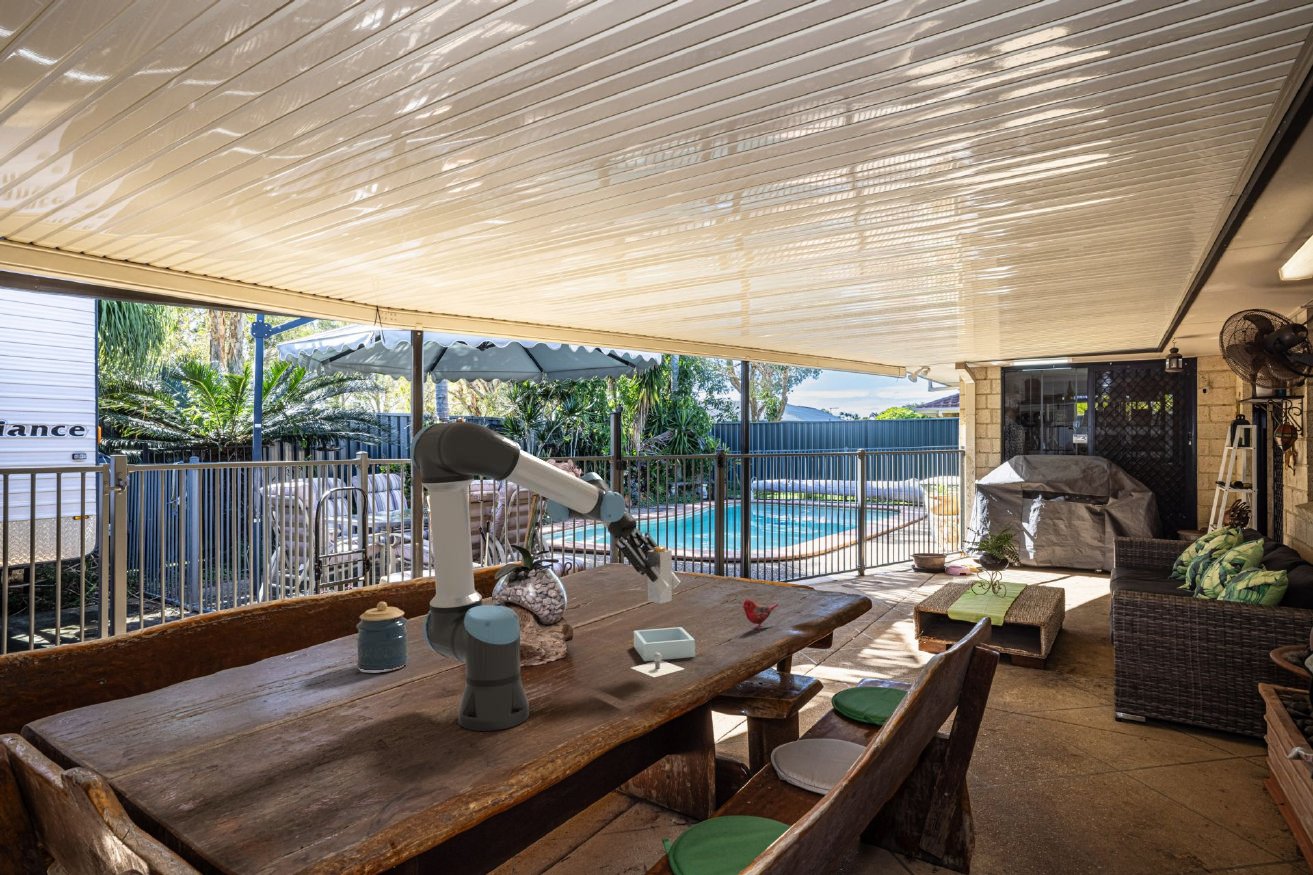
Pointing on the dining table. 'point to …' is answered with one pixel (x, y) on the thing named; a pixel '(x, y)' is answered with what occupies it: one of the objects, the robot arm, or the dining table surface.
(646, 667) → the stud base
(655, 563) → the strut
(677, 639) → the bin
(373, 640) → the canister
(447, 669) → the dining table surface
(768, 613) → the decorative bird figurine
